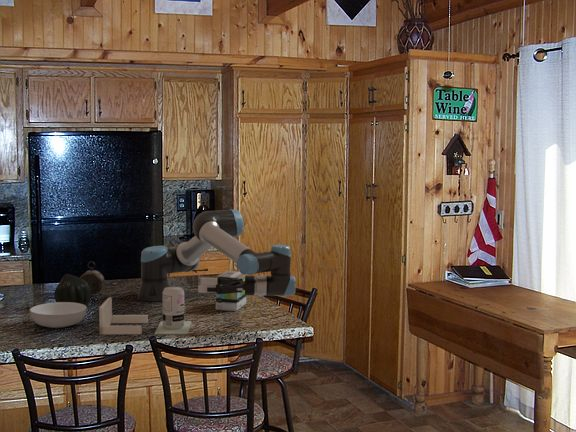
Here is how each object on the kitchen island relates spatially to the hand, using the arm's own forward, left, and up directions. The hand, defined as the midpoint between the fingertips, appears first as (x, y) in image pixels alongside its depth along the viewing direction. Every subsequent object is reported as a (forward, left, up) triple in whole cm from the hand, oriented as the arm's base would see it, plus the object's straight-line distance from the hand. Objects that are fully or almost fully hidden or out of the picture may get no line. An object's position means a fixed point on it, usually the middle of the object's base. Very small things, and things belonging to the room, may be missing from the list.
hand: (199, 284), depth 270 cm
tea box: (-17, +33, -17) cm, 41 cm away
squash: (-65, -15, -17) cm, 69 cm away
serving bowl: (-42, -35, -17) cm, 57 cm away
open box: (-20, -20, -17) cm, 33 cm away
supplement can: (-7, -7, -17) cm, 19 cm away
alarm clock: (-77, +2, -17) cm, 79 cm away
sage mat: (-7, -7, -17) cm, 19 cm away
